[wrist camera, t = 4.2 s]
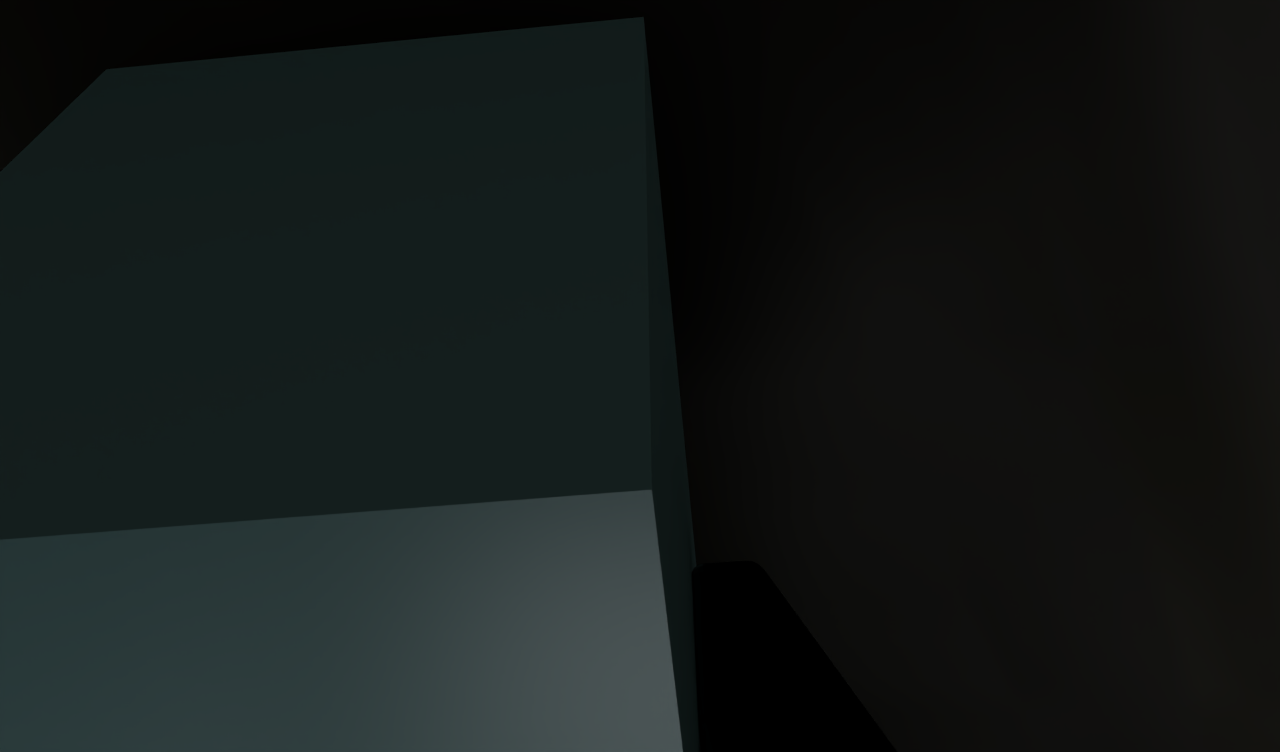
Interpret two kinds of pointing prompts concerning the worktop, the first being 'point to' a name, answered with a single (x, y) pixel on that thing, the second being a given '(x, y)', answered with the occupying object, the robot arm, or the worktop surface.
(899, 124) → the worktop surface
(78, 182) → the dark grey-teal rectangular block
